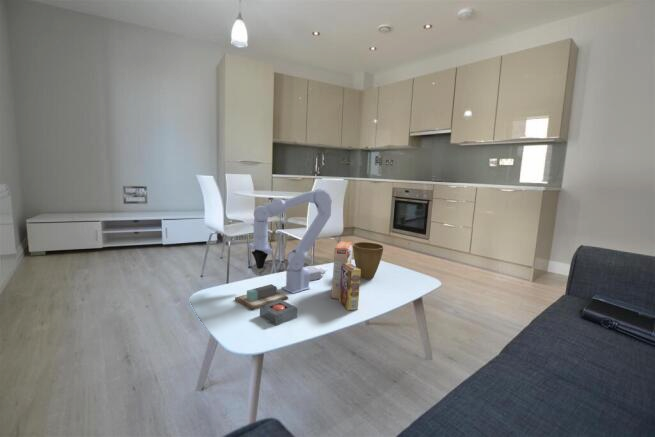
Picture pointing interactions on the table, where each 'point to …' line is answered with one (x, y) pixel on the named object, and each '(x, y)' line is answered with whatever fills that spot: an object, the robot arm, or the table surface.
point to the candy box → (349, 286)
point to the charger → (315, 273)
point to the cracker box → (340, 257)
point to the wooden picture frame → (260, 300)
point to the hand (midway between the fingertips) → (260, 268)
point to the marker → (261, 292)
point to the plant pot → (367, 258)
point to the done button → (278, 307)
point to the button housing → (278, 312)
